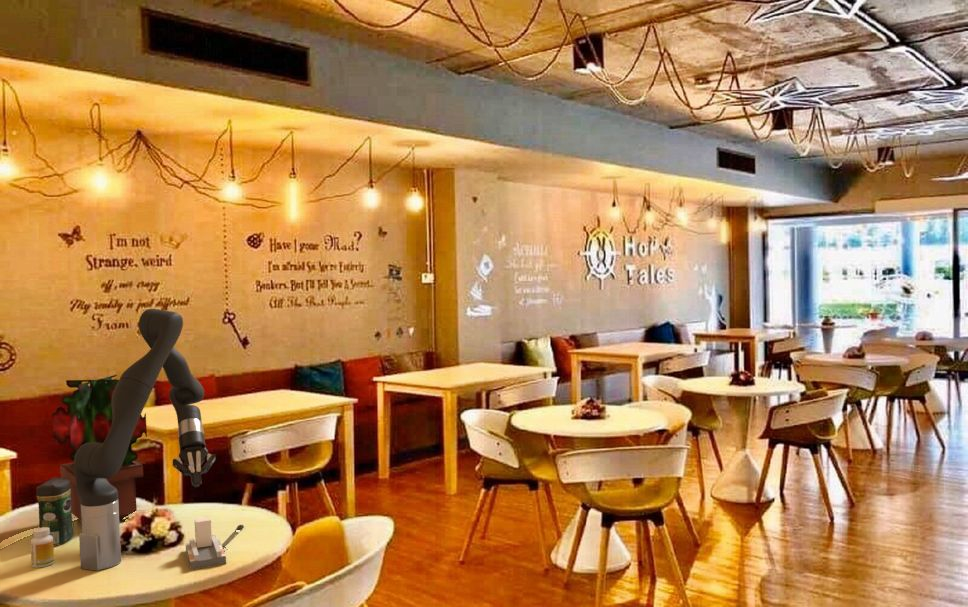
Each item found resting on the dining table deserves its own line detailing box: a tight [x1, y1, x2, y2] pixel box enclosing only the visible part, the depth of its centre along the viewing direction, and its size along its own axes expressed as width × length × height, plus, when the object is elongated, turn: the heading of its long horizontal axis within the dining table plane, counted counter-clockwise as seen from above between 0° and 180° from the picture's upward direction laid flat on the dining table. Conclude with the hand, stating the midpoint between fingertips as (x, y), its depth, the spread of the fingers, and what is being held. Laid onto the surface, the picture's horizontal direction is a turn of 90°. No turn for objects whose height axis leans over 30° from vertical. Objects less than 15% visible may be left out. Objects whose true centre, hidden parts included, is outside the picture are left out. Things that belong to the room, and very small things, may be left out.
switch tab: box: [194, 516, 213, 548], centre depth 227 cm, size 4×4×7 cm
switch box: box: [185, 534, 227, 571], centre depth 224 cm, size 16×9×4 cm, turn 24°
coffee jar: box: [36, 477, 75, 547], centre depth 239 cm, size 10×8×19 cm
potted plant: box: [51, 374, 148, 523], centre depth 260 cm, size 22×22×45 cm
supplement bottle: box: [30, 527, 55, 569], centre depth 221 cm, size 5×5×10 cm
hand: (197, 485), depth 241 cm, fingers closed
